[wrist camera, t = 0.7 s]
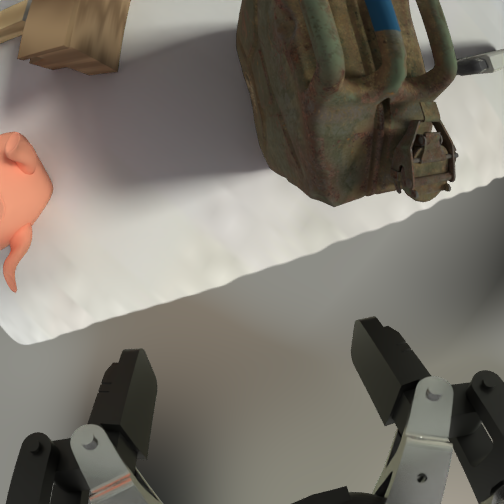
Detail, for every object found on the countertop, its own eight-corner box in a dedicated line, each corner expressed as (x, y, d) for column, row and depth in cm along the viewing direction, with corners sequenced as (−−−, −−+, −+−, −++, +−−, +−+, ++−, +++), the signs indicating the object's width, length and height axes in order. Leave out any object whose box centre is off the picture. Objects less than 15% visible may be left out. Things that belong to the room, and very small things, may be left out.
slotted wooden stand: (67, 3, 22) (11, -36, 8) (137, -11, 23) (100, -69, 10) (50, 85, 27) (-22, 73, 13) (120, 75, 28) (63, 45, 14)
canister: (230, 29, 28) (252, -113, 5) (297, 21, 28) (400, -92, 5) (263, 172, 35) (349, 249, 12) (329, 159, 35) (482, 212, 12)
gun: (423, 67, 30) (478, 57, 20) (481, 51, 33) (520, 47, 23) (429, 83, 31) (485, 76, 21) (486, 63, 34) (525, 60, 24)
